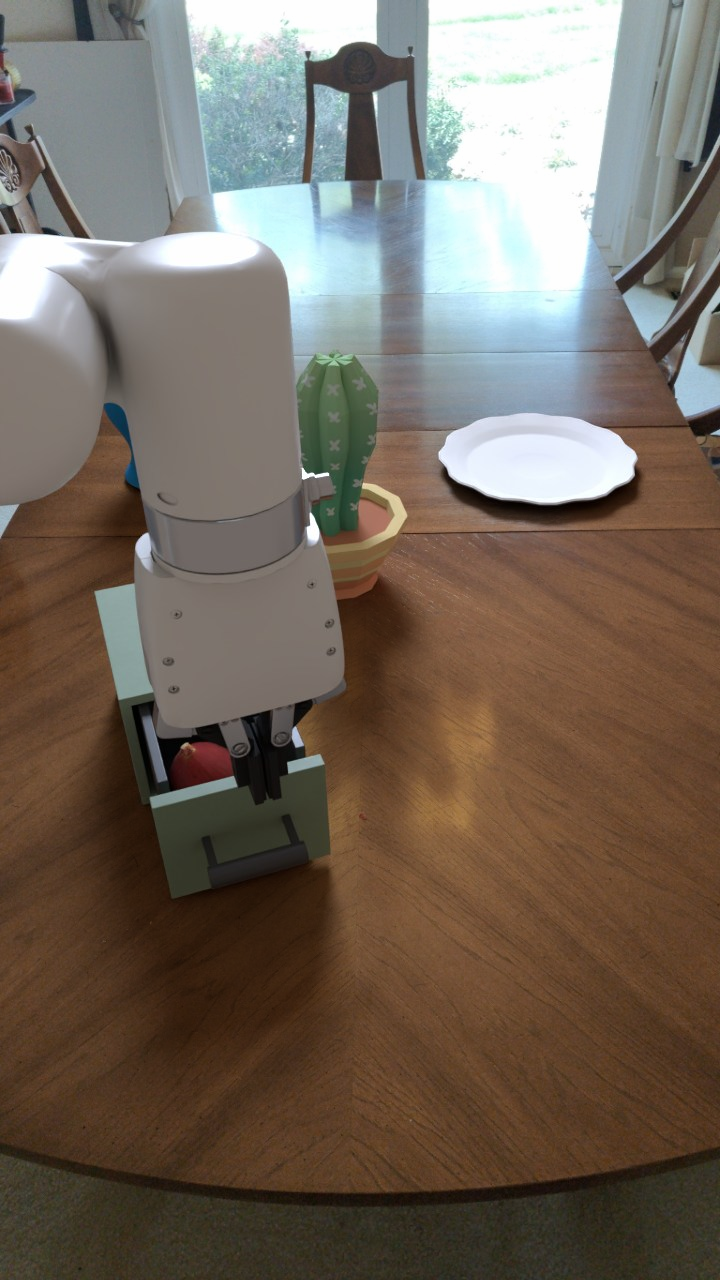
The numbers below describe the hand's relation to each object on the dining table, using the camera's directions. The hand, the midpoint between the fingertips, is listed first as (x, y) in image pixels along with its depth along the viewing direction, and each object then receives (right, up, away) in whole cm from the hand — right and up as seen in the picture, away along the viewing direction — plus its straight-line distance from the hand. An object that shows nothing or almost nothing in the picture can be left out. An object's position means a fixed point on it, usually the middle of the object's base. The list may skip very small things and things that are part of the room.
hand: (262, 785), depth 58 cm
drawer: (-4, -7, +21) cm, 22 cm away
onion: (-5, -5, +21) cm, 22 cm away
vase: (-20, +30, +71) cm, 80 cm away
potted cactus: (+3, +15, +51) cm, 54 cm away
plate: (+29, +31, +70) cm, 82 cm away
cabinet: (-9, +1, +32) cm, 33 cm away
